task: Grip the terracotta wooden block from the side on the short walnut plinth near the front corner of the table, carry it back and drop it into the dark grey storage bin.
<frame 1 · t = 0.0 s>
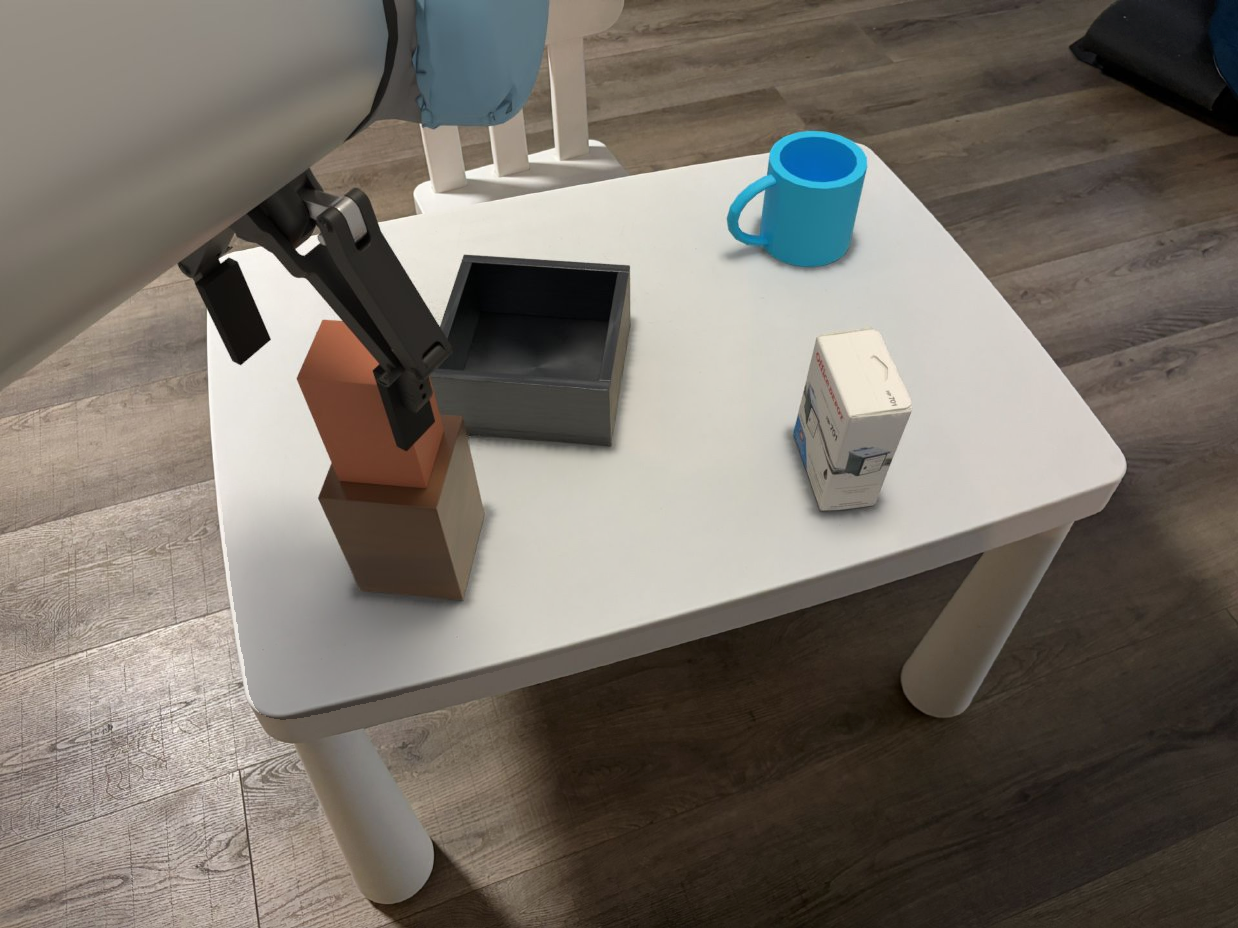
hand: (331, 391, 59), 19 cm above the table, tool pointing down, fingers open, 13 cm apart
block: (392, 455, 64), point 12 cm above the table, touching plinth
dark grey storage bin: (538, 375, 85), on the table
plinth: (424, 551, 73), on the table
ink box: (834, 469, 78), on the table
mug: (784, 243, 96), on the table
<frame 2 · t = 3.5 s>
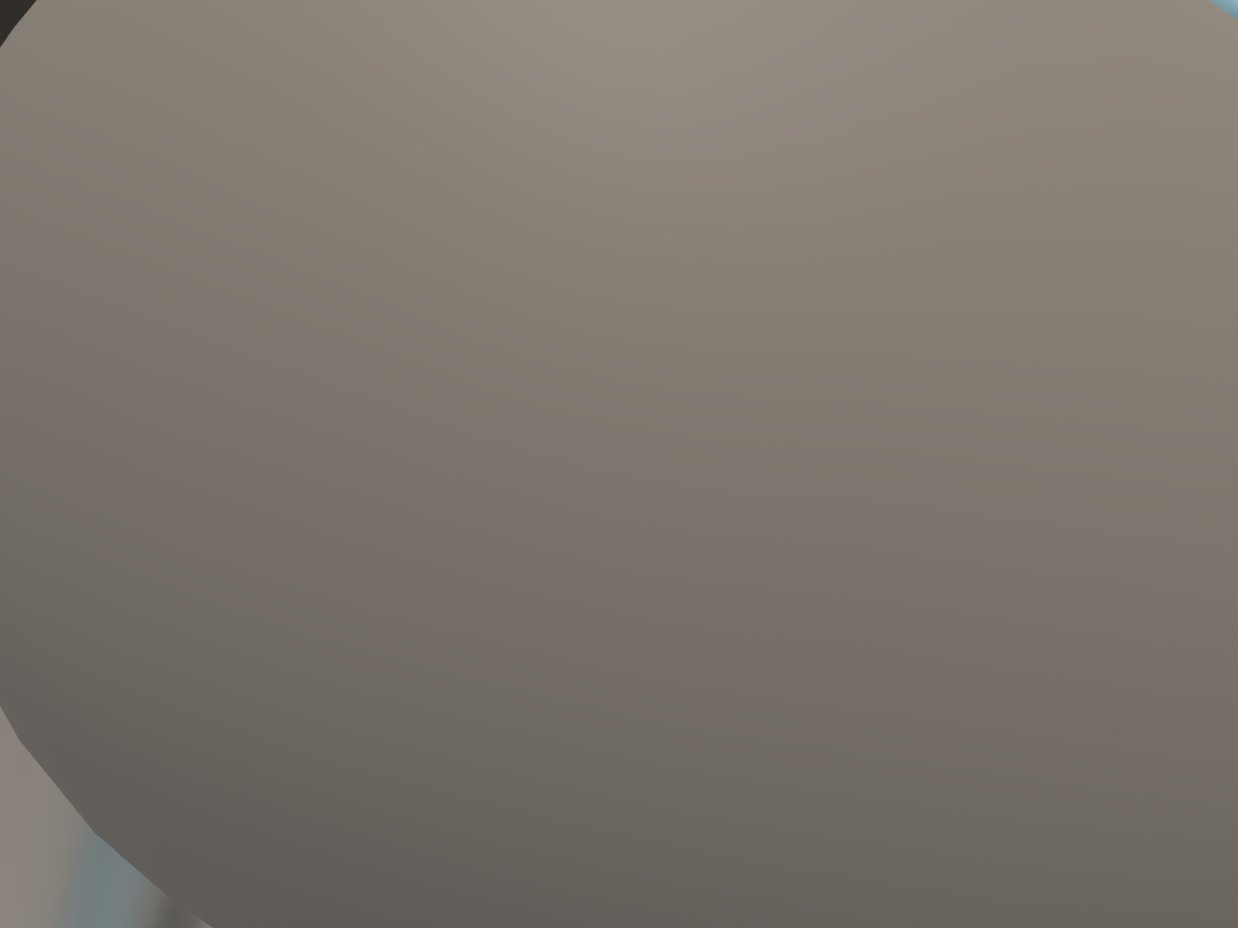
hand: (501, 257, 49), 30 cm above the table, tool horizontal, fingers open, 13 cm apart
nothing on the table moved.
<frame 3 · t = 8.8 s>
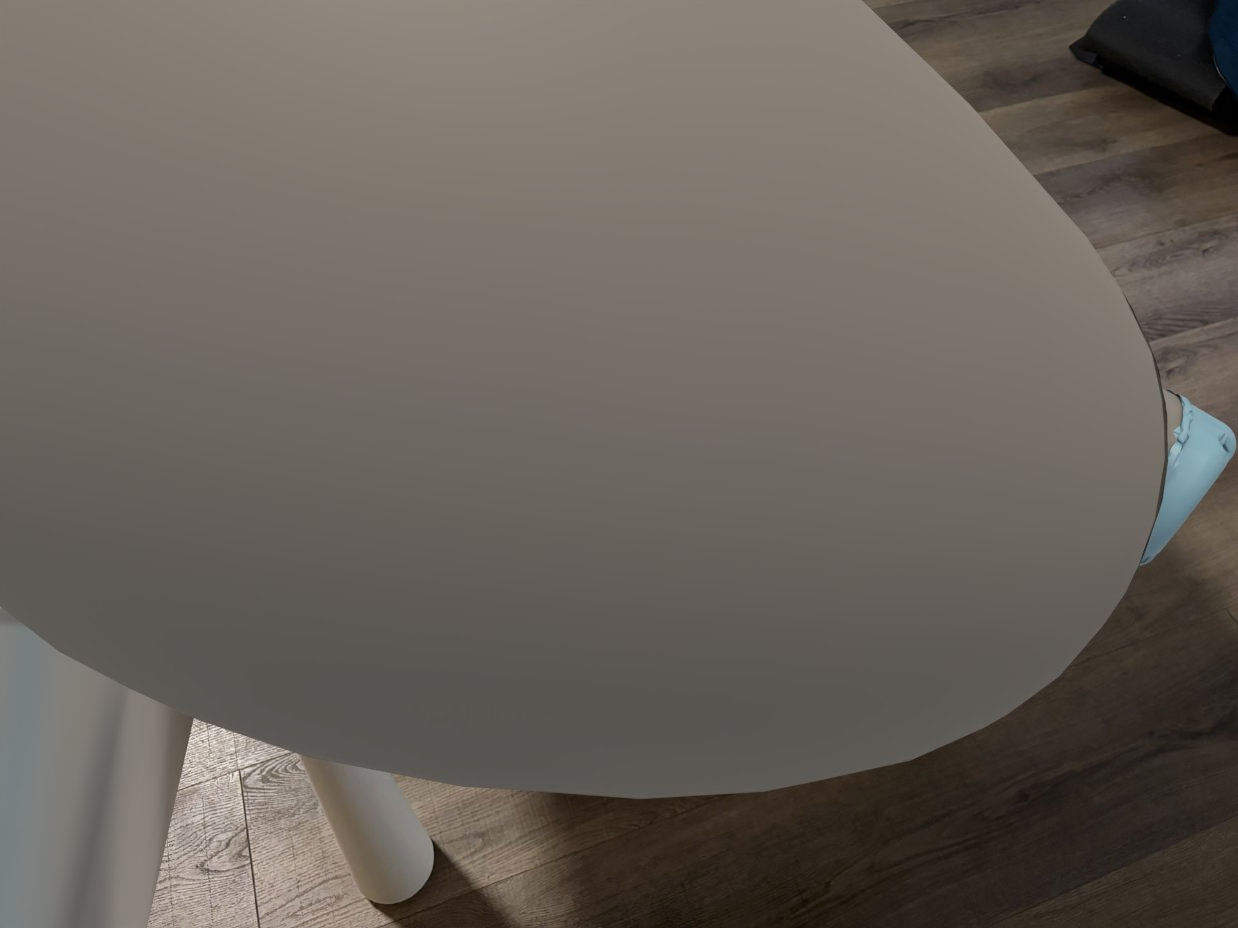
hand: (292, 390, 60), 18 cm above the table, tool horizontal, fingers closed on block, 5 cm apart
block: (392, 455, 64), point 12 cm above the table, touching gripper, plinth
everything else where it was.
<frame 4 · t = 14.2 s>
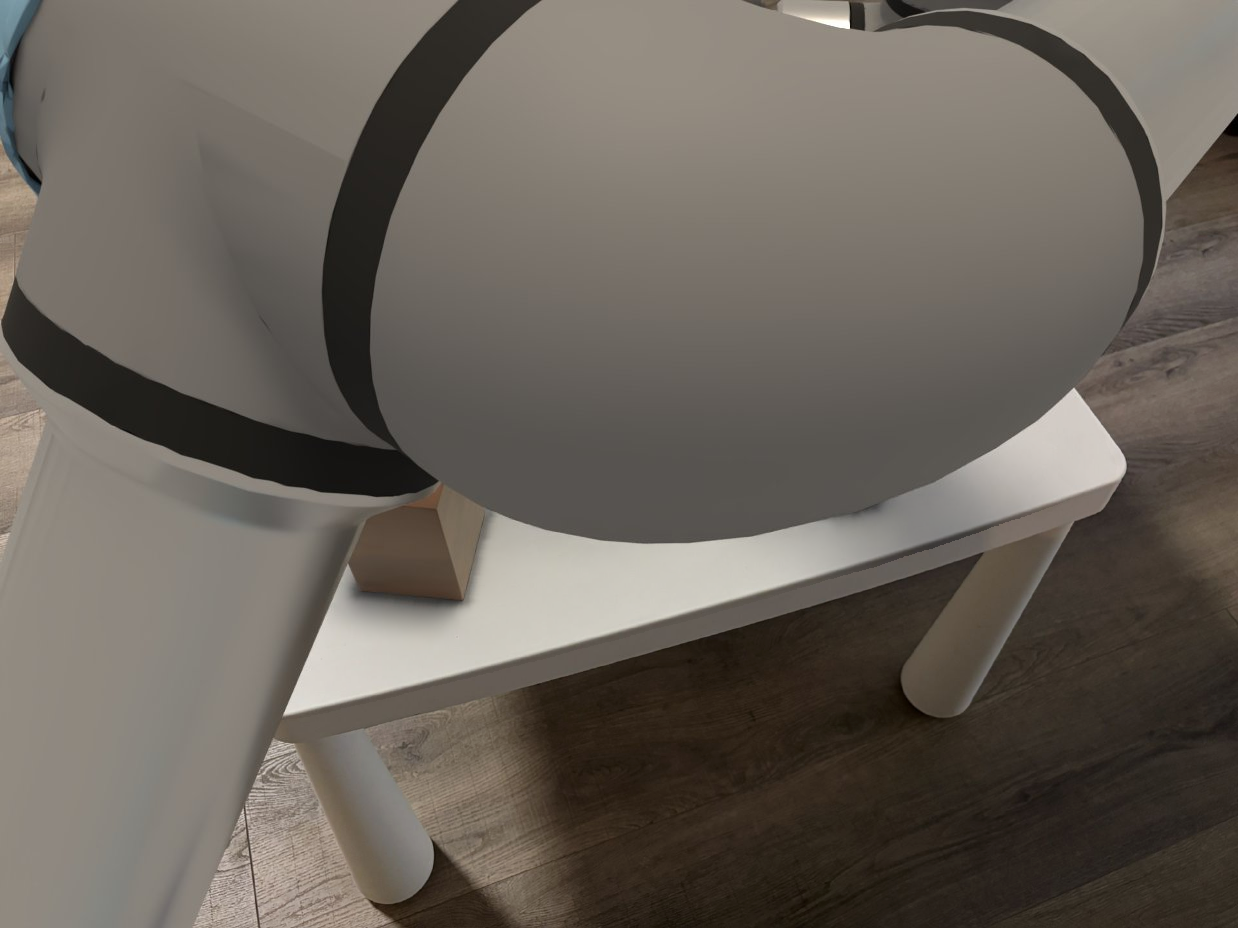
hand: (380, 52, 57), 32 cm above the table, tool horizontal, fingers closed on block, 5 cm apart
block: (478, 143, 62), point 26 cm above the table, touching gripper
everything else where it was.
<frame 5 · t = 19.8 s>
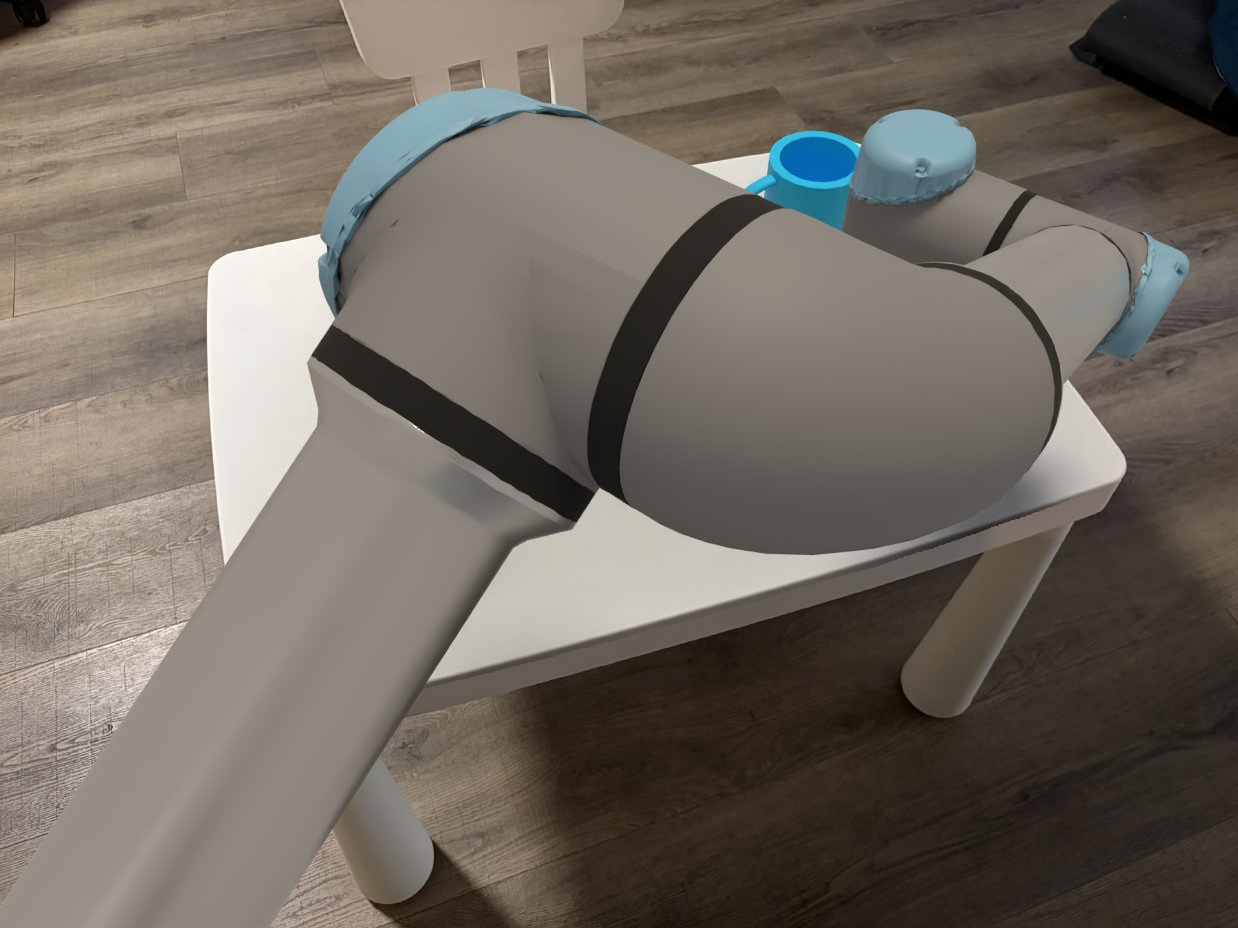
hand: (464, 282, 77), 10 cm above the table, tool horizontal, fingers closed on block, 5 cm apart
block: (535, 338, 81), point 4 cm above the table, touching gripper
ink box: (834, 467, 78), on the table, touching arm
everything else where it was.
when the fingers open (10 cm above the table, at t = 19.8 s): block drops 3 cm, resting on dark grey storage bin.
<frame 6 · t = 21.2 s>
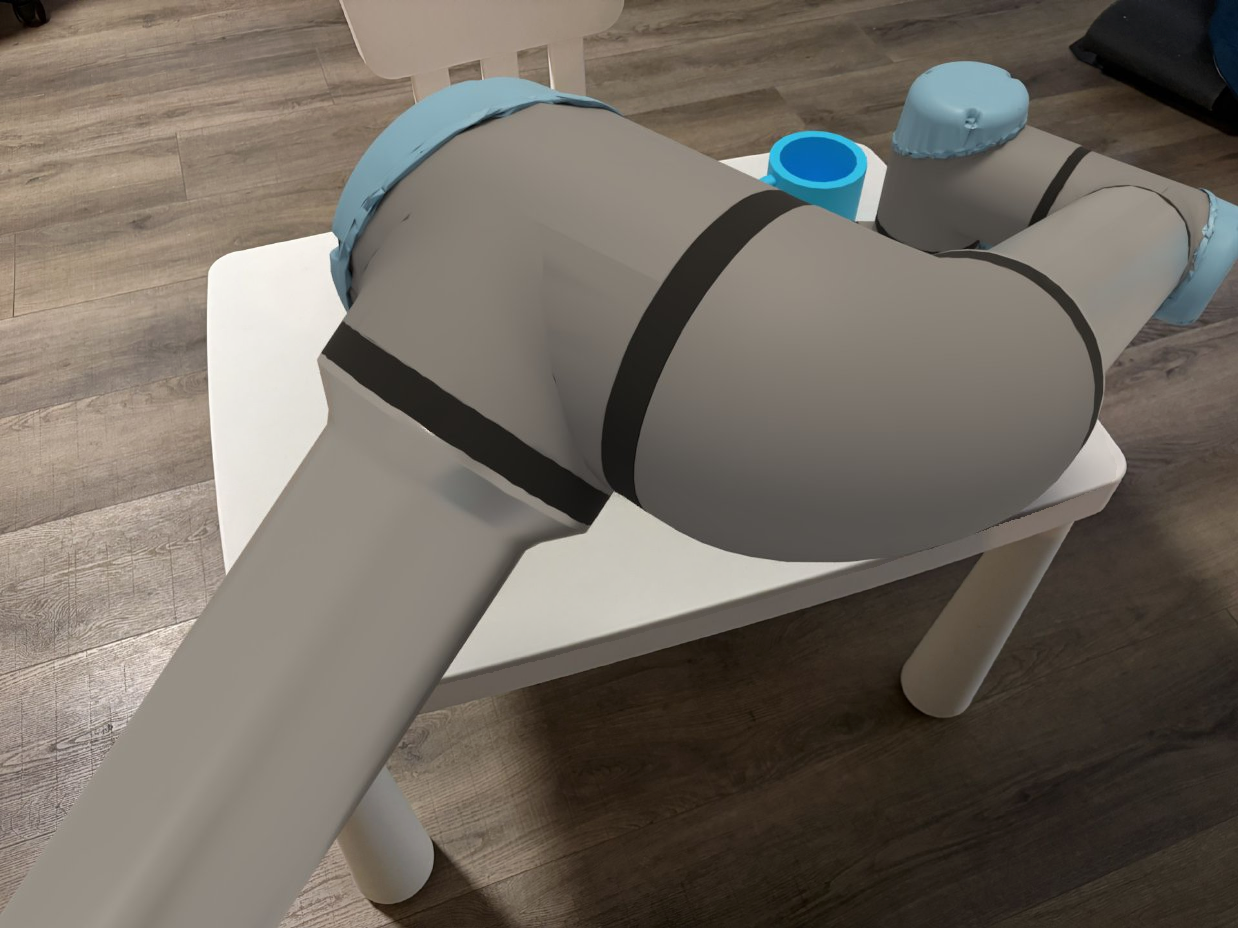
hand: (508, 250, 74), 14 cm above the table, tool horizontal, fingers open, 13 cm apart
block: (538, 365, 84), point 1 cm above the table, touching dark grey storage bin
ink box: (835, 468, 78), on the table
everything else where it was.
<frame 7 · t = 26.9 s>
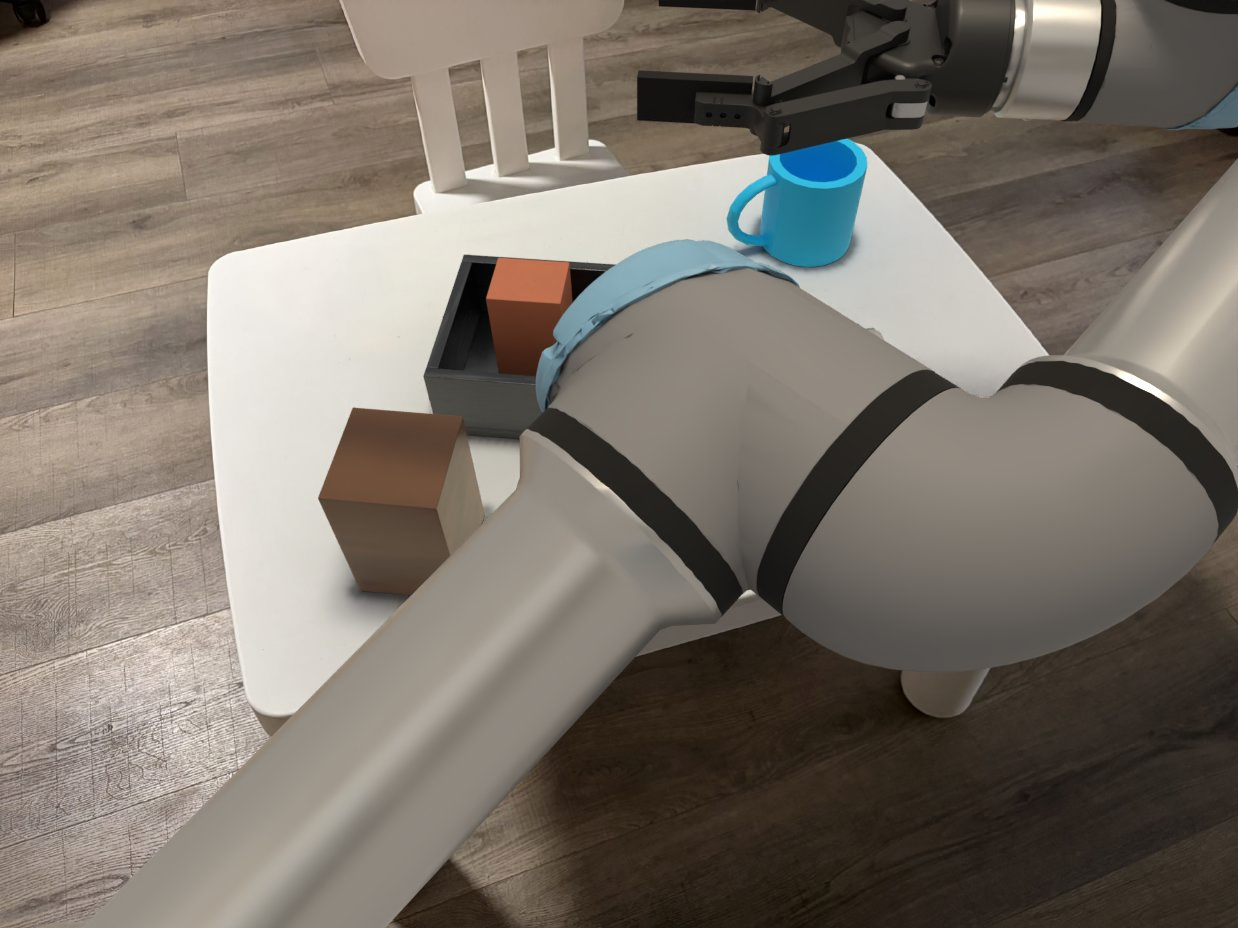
hand: (648, 35, 59), 32 cm above the table, tool horizontal, fingers open, 13 cm apart
nothing on the table moved.
at the end: block inside the target area in the dark grey storage bin (0.2 cm from its centre), point 1.0 cm above the dark grey storage bin's base; the gripper is holding nothing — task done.
